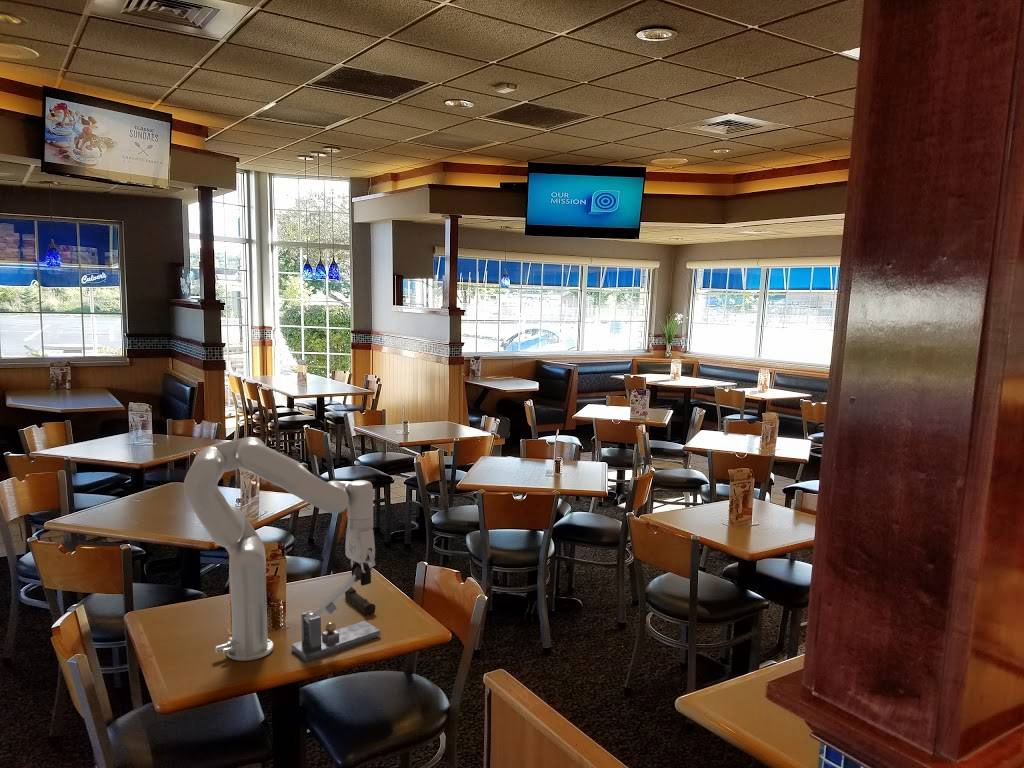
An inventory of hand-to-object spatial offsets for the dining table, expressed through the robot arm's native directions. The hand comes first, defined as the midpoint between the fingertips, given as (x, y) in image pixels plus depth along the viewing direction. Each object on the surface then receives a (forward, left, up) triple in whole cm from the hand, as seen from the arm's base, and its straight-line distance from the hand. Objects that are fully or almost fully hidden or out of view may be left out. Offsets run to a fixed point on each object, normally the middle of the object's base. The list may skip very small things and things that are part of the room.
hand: (361, 581), depth 219 cm
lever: (-7, 0, -4) cm, 8 cm away
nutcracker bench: (-9, 0, -17) cm, 19 cm away
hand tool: (+10, +20, -17) cm, 28 cm away
